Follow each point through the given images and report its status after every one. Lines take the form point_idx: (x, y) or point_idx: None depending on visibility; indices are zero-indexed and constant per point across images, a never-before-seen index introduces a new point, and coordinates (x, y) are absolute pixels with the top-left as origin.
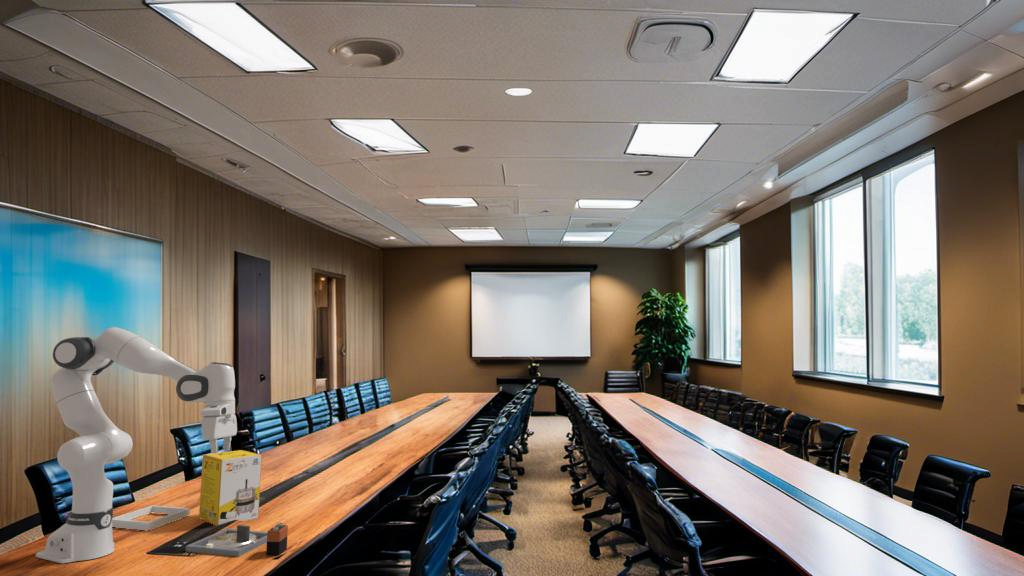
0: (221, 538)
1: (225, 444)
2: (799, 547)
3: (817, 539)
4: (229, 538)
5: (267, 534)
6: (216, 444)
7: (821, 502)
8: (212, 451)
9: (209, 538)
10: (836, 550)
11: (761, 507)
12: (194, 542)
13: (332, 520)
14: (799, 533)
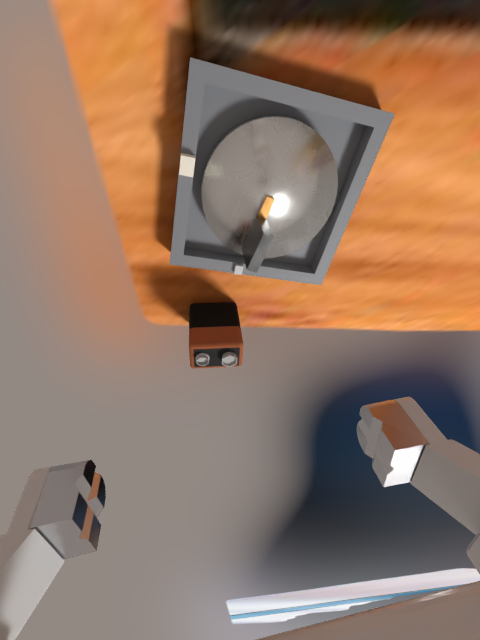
0: (278, 156)
1: (427, 464)
2: (266, 598)
3: (283, 601)
4: (277, 183)
5: (190, 340)
6: (9, 622)
7: (371, 600)
8: (31, 495)
9: (287, 104)
10: (260, 604)
11: (367, 588)
12: (232, 71)
13: (460, 326)
14: (297, 597)
